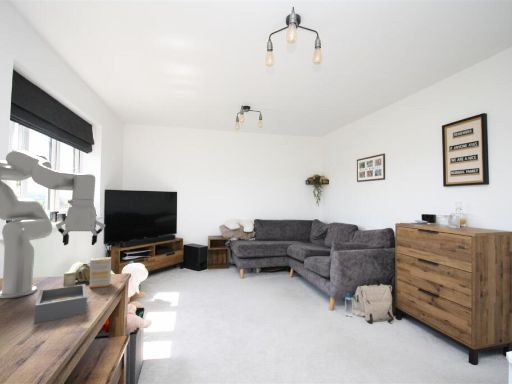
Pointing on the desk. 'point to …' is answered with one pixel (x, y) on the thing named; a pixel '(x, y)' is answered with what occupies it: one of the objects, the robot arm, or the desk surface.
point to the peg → (69, 279)
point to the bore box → (60, 303)
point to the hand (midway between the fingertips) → (79, 244)
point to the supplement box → (100, 272)
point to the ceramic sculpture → (83, 273)
